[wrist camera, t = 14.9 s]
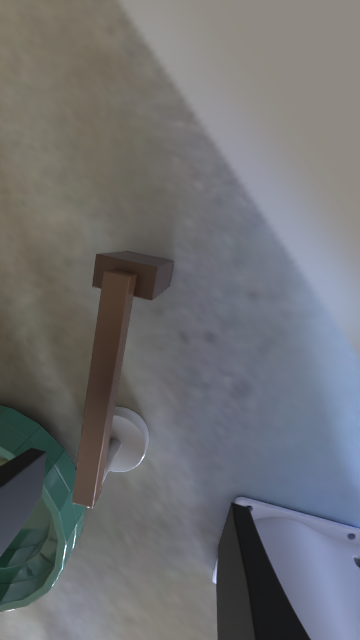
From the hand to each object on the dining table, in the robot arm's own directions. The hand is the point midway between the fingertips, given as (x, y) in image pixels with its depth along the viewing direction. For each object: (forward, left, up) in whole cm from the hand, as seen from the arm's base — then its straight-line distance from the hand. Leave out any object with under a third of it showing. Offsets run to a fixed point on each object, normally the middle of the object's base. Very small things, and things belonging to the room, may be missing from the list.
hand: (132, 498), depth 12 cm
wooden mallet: (+3, 0, -10) cm, 10 cm away
